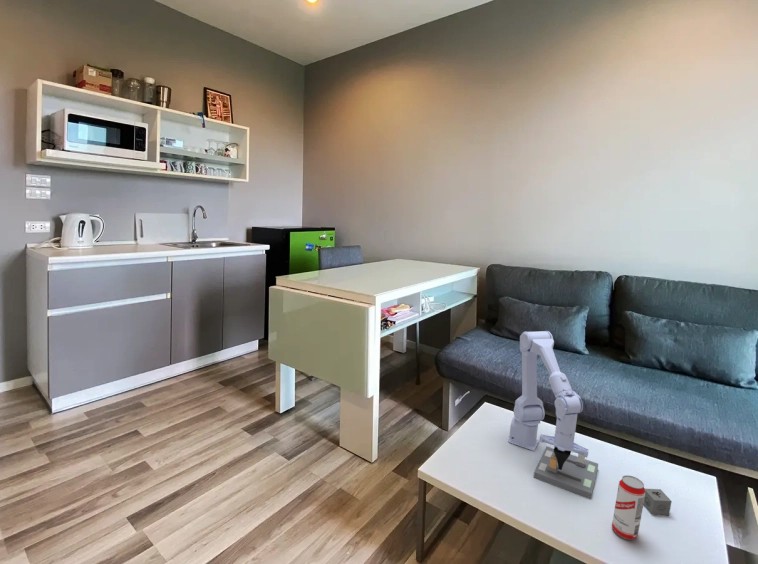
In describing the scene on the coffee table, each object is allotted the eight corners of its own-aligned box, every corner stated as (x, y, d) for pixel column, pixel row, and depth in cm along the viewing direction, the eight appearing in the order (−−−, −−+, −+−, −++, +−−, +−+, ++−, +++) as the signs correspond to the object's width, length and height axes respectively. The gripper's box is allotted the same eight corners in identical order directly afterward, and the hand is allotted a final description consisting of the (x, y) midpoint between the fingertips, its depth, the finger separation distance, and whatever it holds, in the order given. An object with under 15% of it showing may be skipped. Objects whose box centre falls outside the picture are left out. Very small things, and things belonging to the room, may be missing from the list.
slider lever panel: (533, 477, 134) (534, 471, 134) (545, 451, 149) (546, 445, 149) (590, 499, 125) (591, 493, 125) (597, 468, 140) (598, 463, 139)
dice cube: (657, 503, 124) (660, 489, 123) (668, 516, 119) (671, 501, 118) (641, 502, 124) (643, 488, 123) (651, 515, 119) (654, 500, 118)
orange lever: (547, 470, 135) (549, 458, 134) (549, 466, 137) (550, 455, 136) (556, 473, 133) (558, 461, 132) (557, 469, 135) (559, 458, 134)
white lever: (575, 464, 138) (577, 452, 137) (576, 461, 140) (578, 449, 139) (584, 467, 137) (586, 455, 136) (585, 464, 139) (587, 452, 138)
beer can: (628, 545, 108) (637, 492, 105) (606, 528, 114) (614, 477, 111) (642, 536, 111) (651, 485, 108) (620, 520, 117) (628, 471, 114)
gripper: (538, 428, 132) (534, 465, 134) (588, 444, 124) (582, 483, 126) (543, 419, 137) (539, 455, 140) (591, 433, 129) (586, 471, 132)
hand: (560, 468), depth 133 cm, fingers closed
